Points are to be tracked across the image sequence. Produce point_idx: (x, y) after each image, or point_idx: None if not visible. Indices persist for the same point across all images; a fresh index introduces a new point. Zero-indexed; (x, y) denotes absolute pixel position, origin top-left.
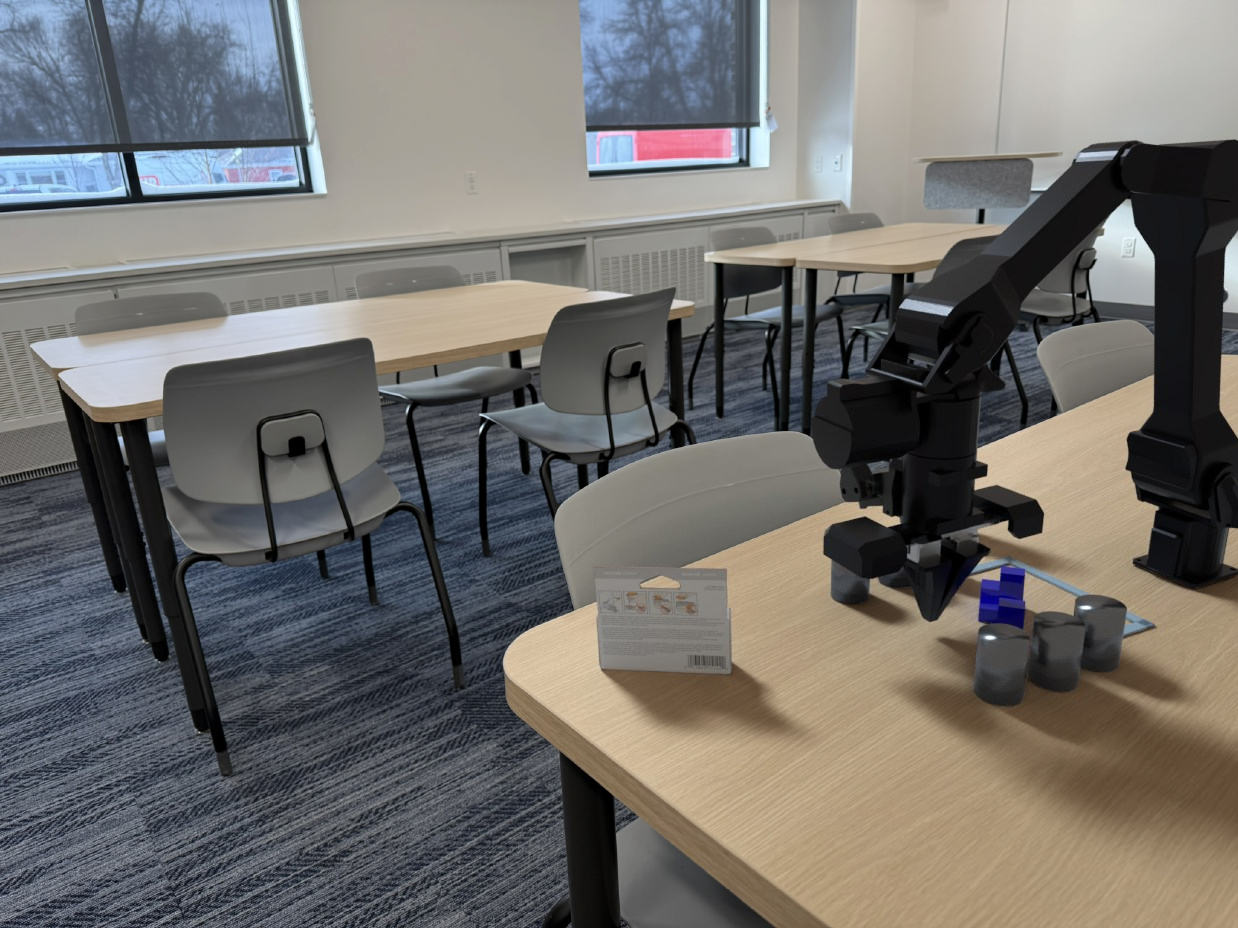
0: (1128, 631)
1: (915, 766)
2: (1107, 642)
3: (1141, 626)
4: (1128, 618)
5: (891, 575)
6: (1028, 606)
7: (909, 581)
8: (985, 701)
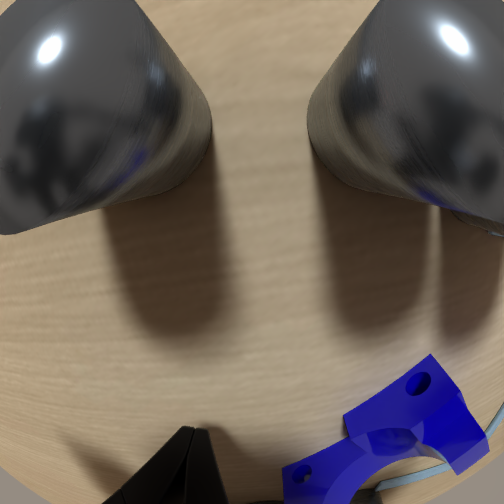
0: (442, 471)
1: (54, 478)
2: None
3: None
4: None
5: (327, 149)
6: None
7: (113, 494)
8: None
